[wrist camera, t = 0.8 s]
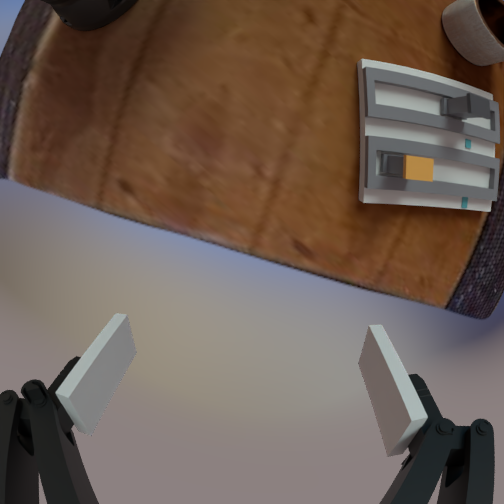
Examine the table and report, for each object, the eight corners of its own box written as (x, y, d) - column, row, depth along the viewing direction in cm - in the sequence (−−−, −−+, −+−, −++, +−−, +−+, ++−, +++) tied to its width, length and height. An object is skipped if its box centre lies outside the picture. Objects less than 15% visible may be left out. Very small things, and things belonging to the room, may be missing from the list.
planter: (433, -2, 23) (463, -24, 14) (482, 19, 22) (515, 5, 13) (447, 56, 26) (485, 42, 17) (495, 74, 25) (533, 68, 16)
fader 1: (381, 152, 30) (404, 154, 24) (410, 156, 30) (435, 159, 24) (380, 172, 31) (403, 178, 25) (409, 175, 31) (434, 181, 25)
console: (357, 62, 29) (364, 56, 26) (484, 95, 27) (497, 93, 24) (358, 199, 35) (366, 204, 32) (482, 208, 33) (494, 213, 30)
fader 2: (440, 97, 27) (467, 92, 21) (462, 104, 27) (490, 100, 21) (441, 115, 28) (469, 112, 22) (463, 120, 27) (492, 119, 22)
